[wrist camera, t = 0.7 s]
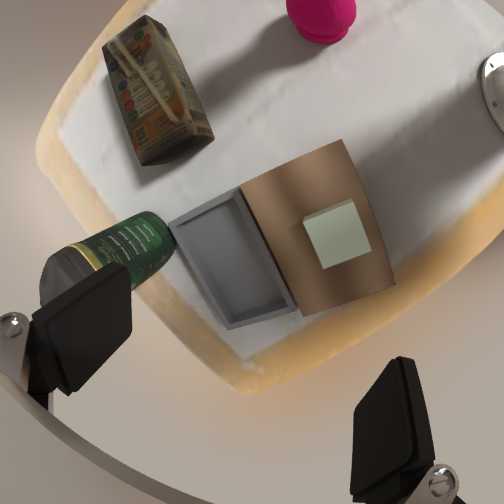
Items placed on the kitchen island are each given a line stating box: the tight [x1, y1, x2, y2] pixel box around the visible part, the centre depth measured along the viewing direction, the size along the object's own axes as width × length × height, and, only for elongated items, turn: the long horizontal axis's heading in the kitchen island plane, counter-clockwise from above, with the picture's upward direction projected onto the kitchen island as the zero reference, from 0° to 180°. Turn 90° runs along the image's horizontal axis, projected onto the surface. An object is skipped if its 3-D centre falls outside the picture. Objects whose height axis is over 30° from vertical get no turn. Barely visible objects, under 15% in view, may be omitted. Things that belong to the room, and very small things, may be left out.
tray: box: [168, 186, 298, 330], centre depth 35 cm, size 10×16×3 cm, turn 27°
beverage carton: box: [102, 15, 215, 166], centre depth 28 cm, size 8×19×7 cm, turn 23°
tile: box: [303, 198, 372, 269], centre depth 26 cm, size 5×5×2 cm
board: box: [240, 139, 396, 317], centre depth 30 cm, size 11×16×5 cm
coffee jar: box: [39, 211, 176, 307], centre depth 30 cm, size 10×8×19 cm
